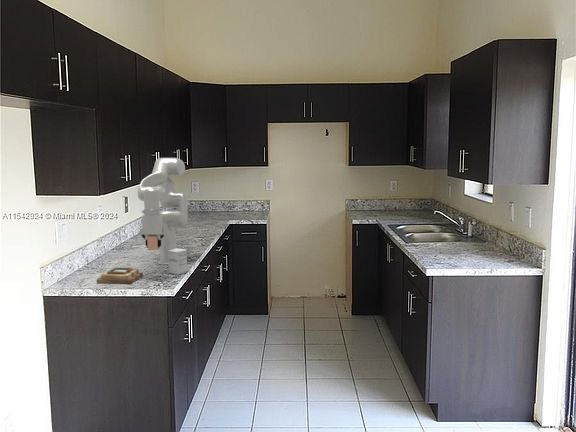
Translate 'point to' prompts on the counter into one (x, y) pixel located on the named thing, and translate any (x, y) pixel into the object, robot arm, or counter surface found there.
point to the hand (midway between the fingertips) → (153, 246)
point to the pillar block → (152, 242)
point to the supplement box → (177, 261)
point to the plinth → (109, 281)
